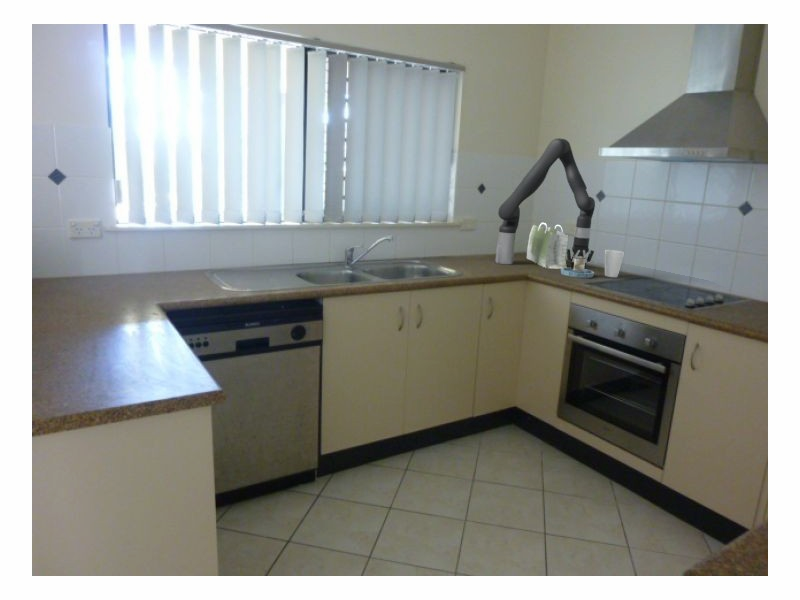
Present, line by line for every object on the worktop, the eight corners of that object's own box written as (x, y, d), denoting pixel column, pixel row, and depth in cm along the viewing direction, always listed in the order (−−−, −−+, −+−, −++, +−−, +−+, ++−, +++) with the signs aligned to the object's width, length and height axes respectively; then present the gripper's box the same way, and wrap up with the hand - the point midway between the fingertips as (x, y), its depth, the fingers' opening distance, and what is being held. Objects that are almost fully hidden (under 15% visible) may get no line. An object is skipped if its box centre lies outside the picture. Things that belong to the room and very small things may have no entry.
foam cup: (603, 273, 302) (607, 249, 299) (622, 276, 298) (625, 251, 295) (599, 275, 294) (603, 251, 291) (618, 278, 290) (622, 253, 287)
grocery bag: (569, 269, 310) (574, 226, 304) (544, 268, 308) (550, 225, 303) (547, 259, 341) (552, 220, 335) (525, 258, 339) (529, 219, 333)
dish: (566, 277, 285) (566, 272, 284) (557, 271, 300) (557, 266, 300) (597, 278, 285) (598, 274, 284) (587, 273, 301) (587, 268, 300)
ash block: (574, 270, 289) (575, 259, 288) (571, 269, 294) (572, 257, 293) (583, 271, 290) (585, 259, 288) (580, 269, 294) (582, 258, 293)
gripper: (570, 236, 284) (566, 269, 288) (598, 238, 284) (593, 271, 288) (565, 234, 291) (561, 267, 295) (593, 236, 292) (589, 268, 296)
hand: (577, 269), depth 292 cm, fingers closed on ash block, 5 cm apart
